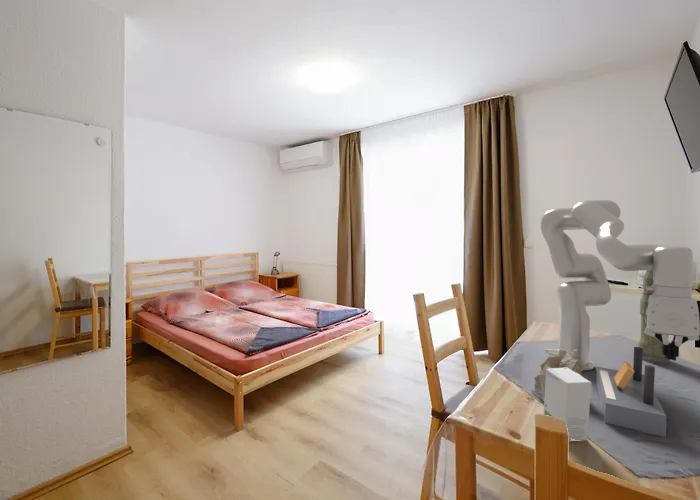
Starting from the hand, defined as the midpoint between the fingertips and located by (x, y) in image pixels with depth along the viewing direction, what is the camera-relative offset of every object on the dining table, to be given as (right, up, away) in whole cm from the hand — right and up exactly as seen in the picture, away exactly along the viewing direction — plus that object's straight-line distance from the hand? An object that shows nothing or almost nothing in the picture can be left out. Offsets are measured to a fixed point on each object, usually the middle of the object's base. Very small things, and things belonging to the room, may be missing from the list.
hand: (670, 358), depth 90 cm
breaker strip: (-7, -16, +6) cm, 19 cm away
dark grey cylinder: (0, -10, +10) cm, 14 cm away
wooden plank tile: (-9, -10, +7) cm, 15 cm away
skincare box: (-32, -18, -5) cm, 37 cm away
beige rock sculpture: (-22, -16, +16) cm, 32 cm away
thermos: (+30, -13, +37) cm, 50 cm away
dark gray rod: (-8, -11, -2) cm, 14 cm away
